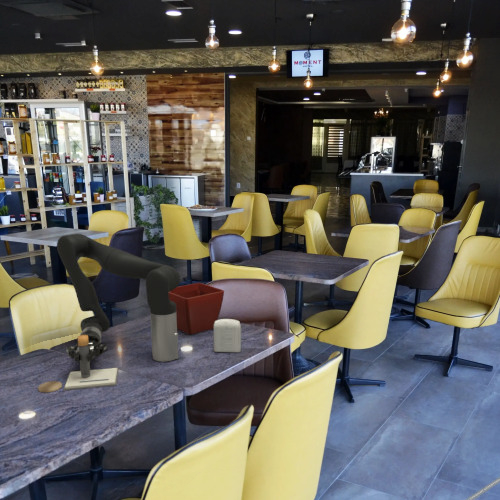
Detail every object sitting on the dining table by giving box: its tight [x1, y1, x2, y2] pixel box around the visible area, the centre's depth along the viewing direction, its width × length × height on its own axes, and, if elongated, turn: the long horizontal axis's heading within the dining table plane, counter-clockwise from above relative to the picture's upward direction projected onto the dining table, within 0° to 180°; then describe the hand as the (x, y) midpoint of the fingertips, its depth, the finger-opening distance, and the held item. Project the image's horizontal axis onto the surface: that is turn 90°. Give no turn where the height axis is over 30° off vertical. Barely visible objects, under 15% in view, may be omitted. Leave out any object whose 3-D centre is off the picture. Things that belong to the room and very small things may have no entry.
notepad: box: [63, 367, 120, 391], centre depth 161 cm, size 16×12×1 cm
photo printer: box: [213, 318, 242, 353], centre depth 183 cm, size 10×4×12 cm, turn 86°
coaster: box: [37, 380, 63, 394], centre depth 156 cm, size 7×7×1 cm
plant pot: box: [169, 282, 225, 335], centre depth 208 cm, size 19×19×17 cm
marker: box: [77, 334, 91, 378], centre depth 160 cm, size 3×3×14 cm
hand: (83, 359), depth 157 cm, fingers closed on marker, 3 cm apart
